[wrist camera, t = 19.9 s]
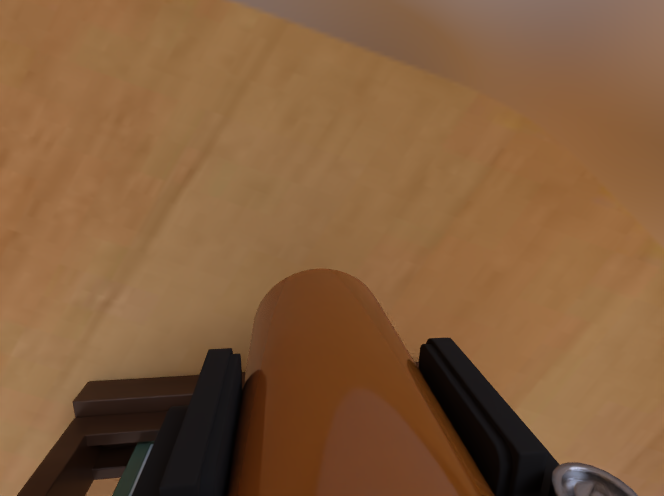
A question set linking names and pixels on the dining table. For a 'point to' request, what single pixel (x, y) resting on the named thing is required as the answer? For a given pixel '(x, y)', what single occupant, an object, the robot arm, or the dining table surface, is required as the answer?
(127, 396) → the window frame
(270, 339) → the orange-brown cylinder
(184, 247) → the dining table surface
